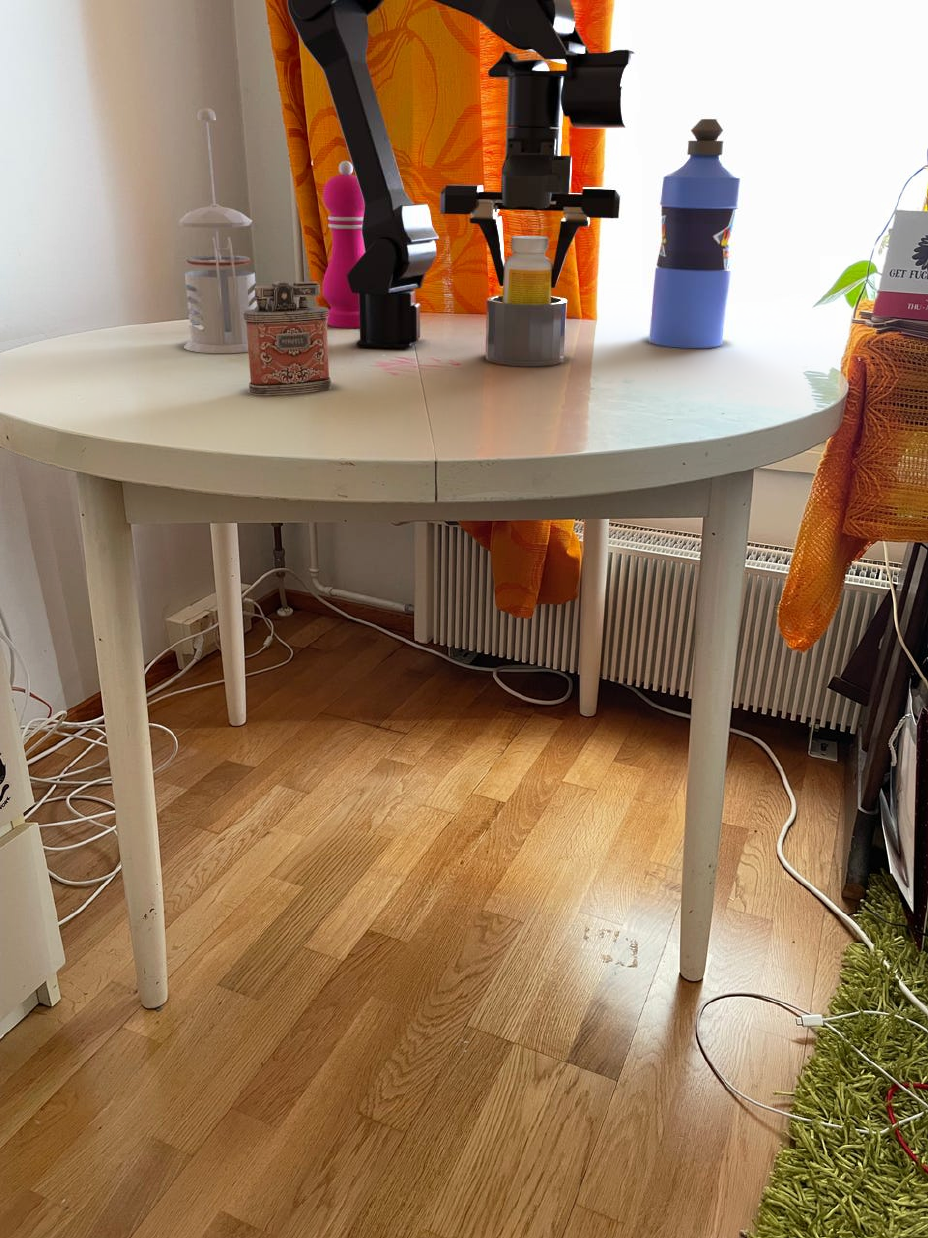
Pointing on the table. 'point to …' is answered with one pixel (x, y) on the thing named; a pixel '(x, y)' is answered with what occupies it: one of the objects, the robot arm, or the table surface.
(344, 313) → the pepper mill
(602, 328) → the table surface
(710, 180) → the water bottle
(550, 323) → the grey cylindrical cup
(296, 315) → the lighter
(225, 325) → the french press
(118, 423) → the table surface
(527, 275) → the supplement bottle
